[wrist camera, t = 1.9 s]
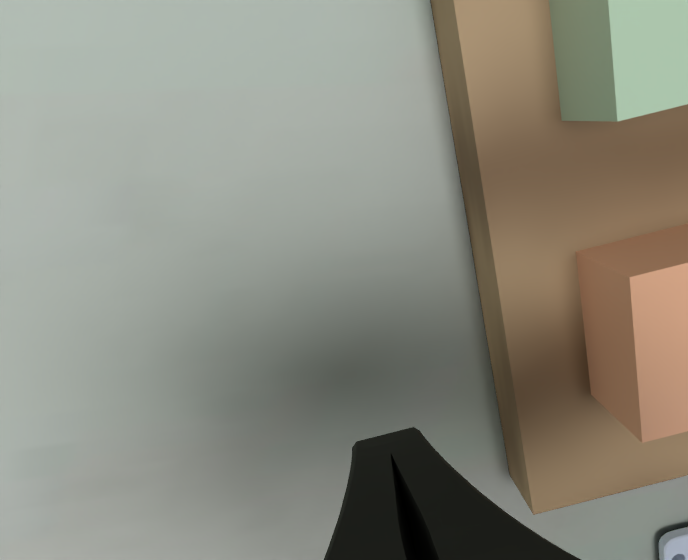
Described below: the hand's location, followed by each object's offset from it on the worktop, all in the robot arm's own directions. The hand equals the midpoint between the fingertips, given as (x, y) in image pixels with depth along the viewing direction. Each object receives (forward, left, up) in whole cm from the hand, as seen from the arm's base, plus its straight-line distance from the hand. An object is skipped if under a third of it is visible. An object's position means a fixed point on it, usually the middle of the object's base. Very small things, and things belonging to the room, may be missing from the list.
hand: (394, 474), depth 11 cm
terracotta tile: (0, -9, -4) cm, 10 cm away
